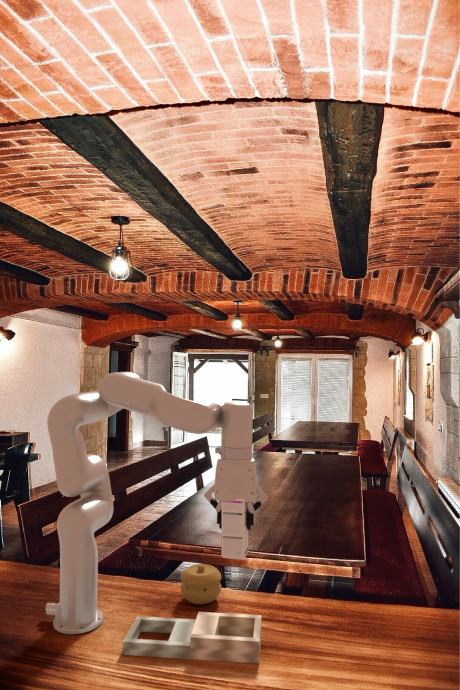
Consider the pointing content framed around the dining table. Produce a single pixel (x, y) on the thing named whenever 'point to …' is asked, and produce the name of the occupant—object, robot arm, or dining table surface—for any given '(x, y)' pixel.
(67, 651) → the dining table surface
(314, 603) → the dining table surface
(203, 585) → the beige rounded piece
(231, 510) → the syrup box
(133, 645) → the rack
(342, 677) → the dining table surface
